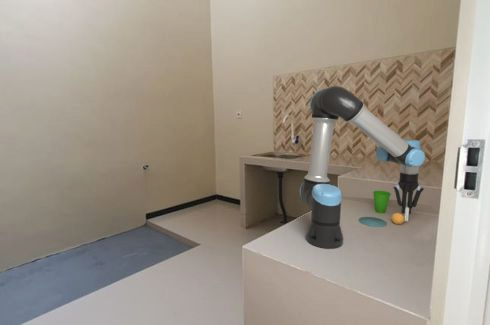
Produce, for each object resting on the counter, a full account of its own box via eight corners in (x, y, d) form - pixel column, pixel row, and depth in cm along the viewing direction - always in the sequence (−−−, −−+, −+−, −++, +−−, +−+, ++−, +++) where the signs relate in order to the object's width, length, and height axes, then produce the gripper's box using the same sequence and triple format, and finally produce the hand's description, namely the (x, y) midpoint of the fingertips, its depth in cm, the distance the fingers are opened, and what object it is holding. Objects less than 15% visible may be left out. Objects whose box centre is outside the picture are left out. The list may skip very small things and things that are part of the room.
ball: (399, 228, 133) (390, 220, 133) (395, 224, 138) (387, 216, 138) (408, 221, 131) (400, 212, 132) (404, 217, 137) (396, 209, 137)
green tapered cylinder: (391, 215, 147) (393, 195, 146) (373, 214, 149) (375, 194, 147) (386, 209, 156) (388, 191, 154) (369, 208, 158) (371, 190, 156)
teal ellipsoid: (360, 225, 133) (360, 225, 133) (357, 216, 146) (357, 215, 146) (390, 228, 130) (390, 227, 130) (383, 218, 143) (383, 218, 143)
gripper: (421, 171, 132) (417, 218, 136) (391, 170, 136) (389, 216, 139) (427, 174, 125) (423, 223, 129) (396, 173, 128) (392, 221, 132)
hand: (405, 219), depth 134 cm, fingers closed
